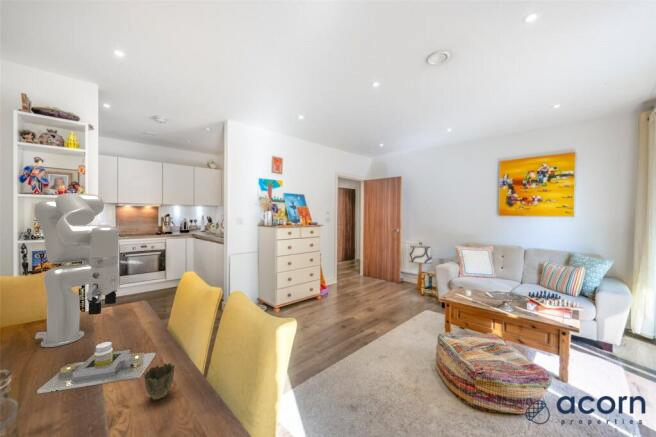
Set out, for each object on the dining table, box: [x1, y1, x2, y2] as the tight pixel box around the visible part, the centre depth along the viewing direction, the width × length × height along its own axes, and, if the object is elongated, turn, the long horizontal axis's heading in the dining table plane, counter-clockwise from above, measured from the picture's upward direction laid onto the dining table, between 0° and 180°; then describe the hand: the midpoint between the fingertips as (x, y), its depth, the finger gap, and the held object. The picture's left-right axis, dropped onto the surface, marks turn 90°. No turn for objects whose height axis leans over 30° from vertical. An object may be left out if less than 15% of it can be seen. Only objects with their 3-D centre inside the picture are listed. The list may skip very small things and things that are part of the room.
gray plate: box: [36, 349, 156, 395], centre depth 85 cm, size 26×14×4 cm, turn 108°
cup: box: [143, 362, 175, 401], centre depth 73 cm, size 8×7×8 cm
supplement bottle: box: [94, 341, 114, 367], centre depth 85 cm, size 5×5×8 cm
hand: (103, 308), depth 89 cm, fingers open, 9 cm apart
